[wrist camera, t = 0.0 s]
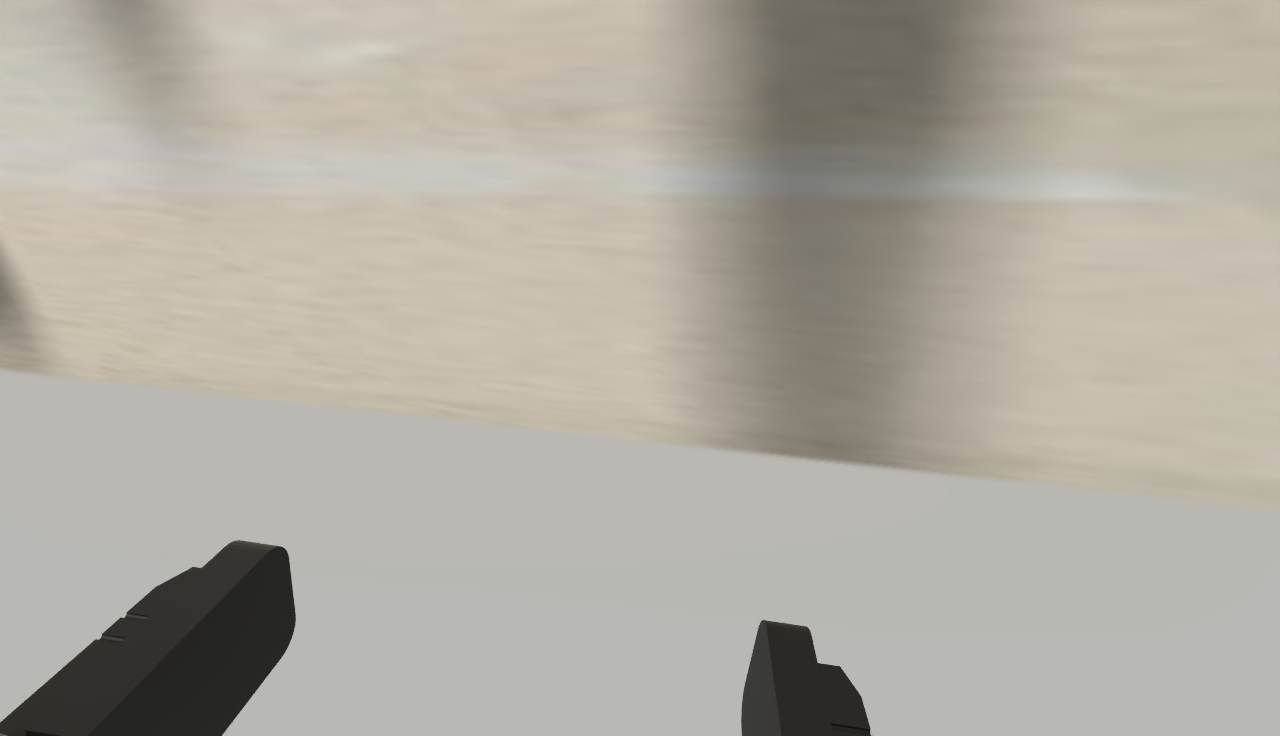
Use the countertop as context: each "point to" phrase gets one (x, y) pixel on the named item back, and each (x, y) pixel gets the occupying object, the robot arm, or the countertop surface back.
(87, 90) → the countertop surface
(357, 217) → the countertop surface
